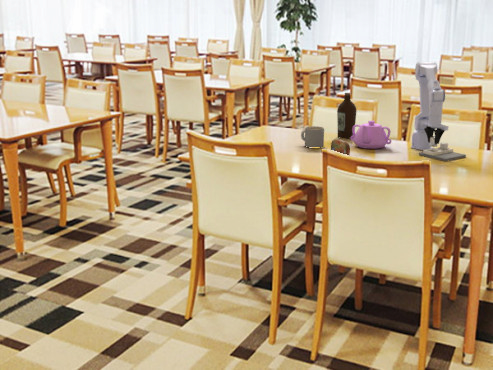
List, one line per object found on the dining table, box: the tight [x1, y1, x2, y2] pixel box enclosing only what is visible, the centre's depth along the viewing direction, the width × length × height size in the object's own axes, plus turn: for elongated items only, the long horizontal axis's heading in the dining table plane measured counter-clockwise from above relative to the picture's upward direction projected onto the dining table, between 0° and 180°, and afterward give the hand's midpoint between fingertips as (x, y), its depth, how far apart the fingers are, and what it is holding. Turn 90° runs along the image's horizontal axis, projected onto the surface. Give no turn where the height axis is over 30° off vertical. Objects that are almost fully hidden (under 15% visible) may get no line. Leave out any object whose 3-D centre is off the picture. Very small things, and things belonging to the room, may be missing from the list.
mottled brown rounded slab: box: [330, 138, 351, 156], centre depth 297 cm, size 15×3×8 cm, turn 21°
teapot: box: [350, 120, 392, 150], centre depth 317 cm, size 22×22×14 cm
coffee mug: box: [300, 125, 325, 148], centre depth 322 cm, size 13×10×10 cm
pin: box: [429, 135, 438, 148], centre depth 297 cm, size 4×4×4 cm
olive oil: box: [336, 92, 357, 140], centre depth 342 cm, size 11×11×25 cm
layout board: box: [418, 142, 467, 162], centre depth 297 cm, size 16×15×5 cm
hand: (433, 143), depth 297 cm, fingers closed on pin, 4 cm apart
